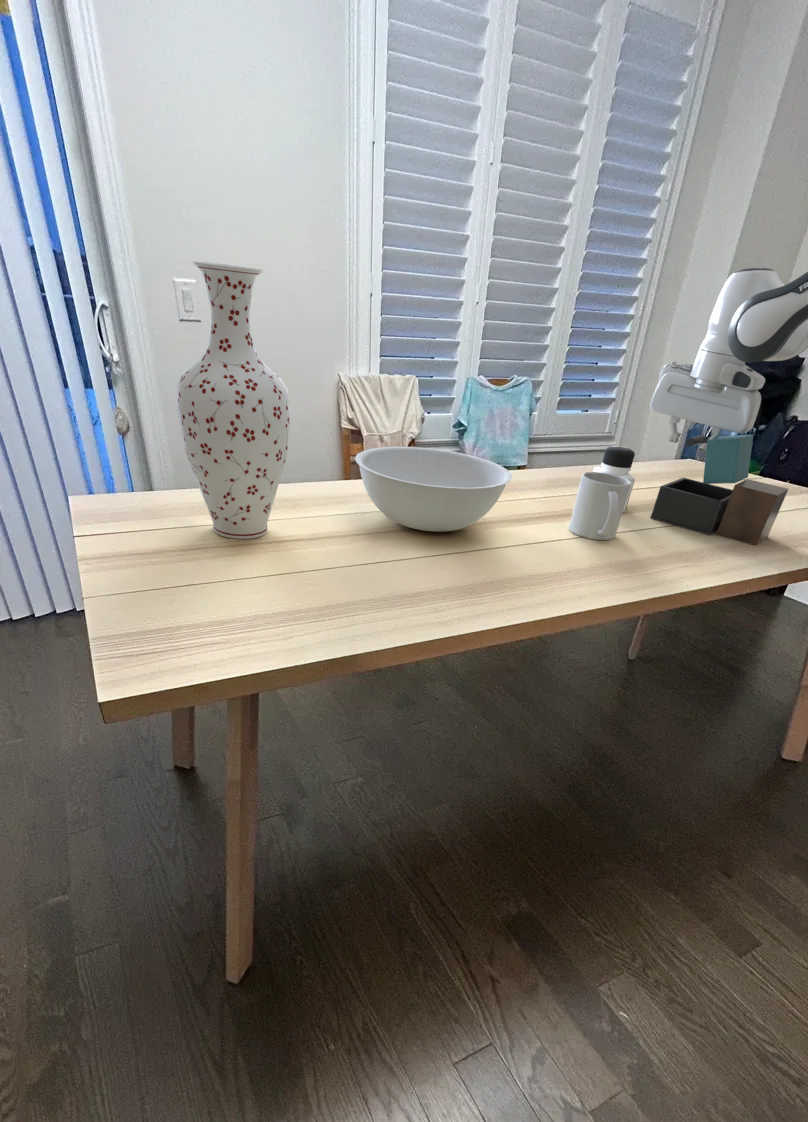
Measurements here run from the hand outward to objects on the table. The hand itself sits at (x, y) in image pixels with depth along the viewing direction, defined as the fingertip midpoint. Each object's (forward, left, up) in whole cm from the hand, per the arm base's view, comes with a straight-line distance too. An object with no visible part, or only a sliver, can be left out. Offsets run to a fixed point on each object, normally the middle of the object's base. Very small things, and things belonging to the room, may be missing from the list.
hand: (688, 446), depth 130 cm
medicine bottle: (+11, +8, -14) cm, 19 cm away
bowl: (+26, +52, -14) cm, 60 cm away
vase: (+41, +82, -14) cm, 93 cm away
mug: (+4, +29, -14) cm, 32 cm away
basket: (-6, 0, -14) cm, 15 cm away
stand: (-16, 0, -14) cm, 21 cm away
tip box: (-11, 0, 0) cm, 11 cm away
